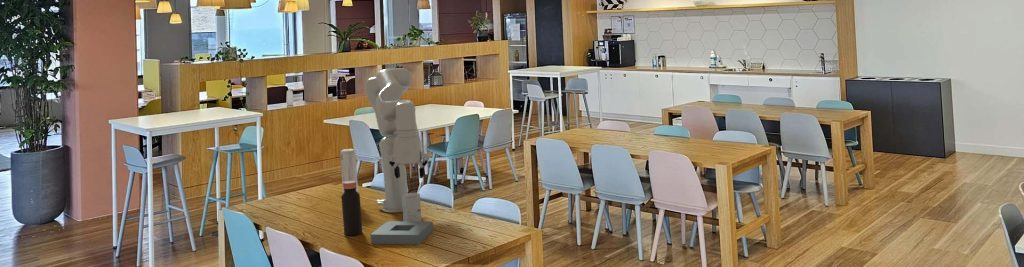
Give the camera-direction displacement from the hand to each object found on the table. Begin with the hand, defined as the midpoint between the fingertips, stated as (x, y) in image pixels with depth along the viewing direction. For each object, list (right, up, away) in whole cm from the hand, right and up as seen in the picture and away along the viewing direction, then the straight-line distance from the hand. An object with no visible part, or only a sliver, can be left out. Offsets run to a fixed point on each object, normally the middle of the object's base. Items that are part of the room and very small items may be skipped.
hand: (409, 177), depth 300 cm
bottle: (-20, -21, -7) cm, 30 cm away
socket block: (-1, -21, -15) cm, 26 cm away
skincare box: (+1, -19, +3) cm, 19 cm away
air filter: (-30, -15, +38) cm, 51 cm away
